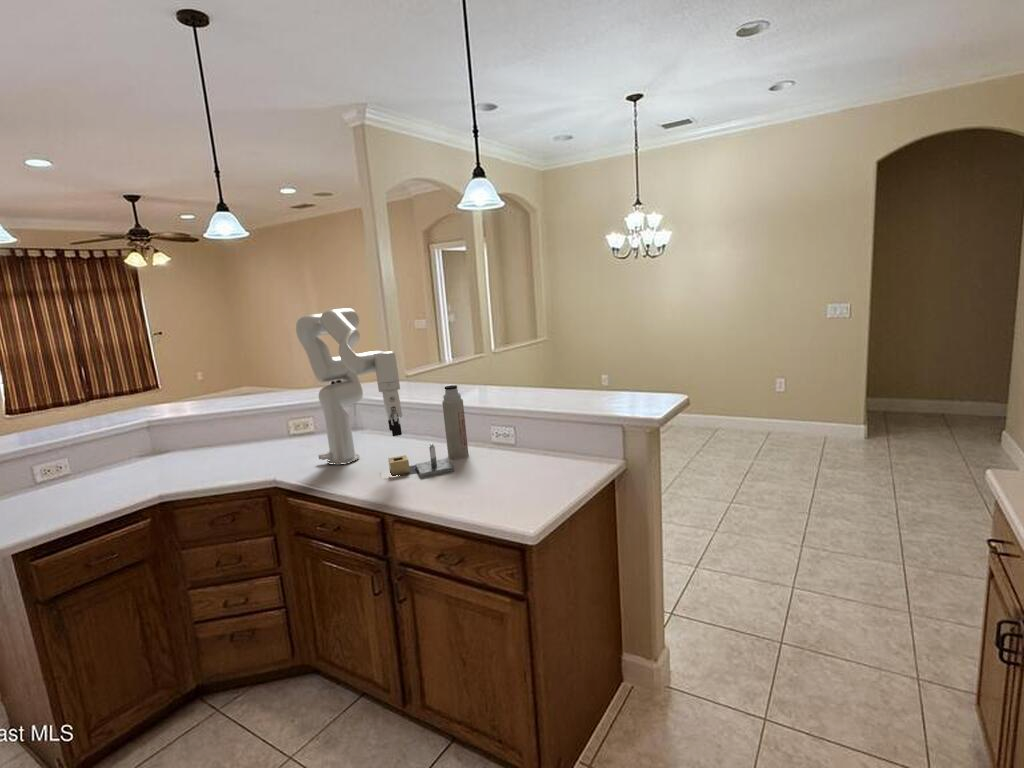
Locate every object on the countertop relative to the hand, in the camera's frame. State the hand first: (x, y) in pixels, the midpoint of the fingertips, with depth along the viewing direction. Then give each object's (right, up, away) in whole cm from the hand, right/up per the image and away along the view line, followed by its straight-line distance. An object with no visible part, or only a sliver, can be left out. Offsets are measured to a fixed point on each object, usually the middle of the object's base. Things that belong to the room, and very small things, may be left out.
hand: (395, 432), depth 191 cm
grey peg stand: (+14, -14, +2) cm, 20 cm away
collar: (+1, -15, +3) cm, 15 cm away
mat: (+1, -15, +3) cm, 15 cm away
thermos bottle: (+21, -11, +18) cm, 30 cm away
